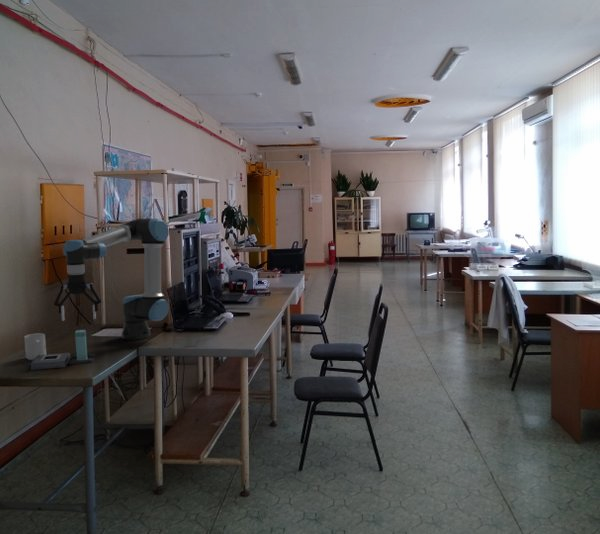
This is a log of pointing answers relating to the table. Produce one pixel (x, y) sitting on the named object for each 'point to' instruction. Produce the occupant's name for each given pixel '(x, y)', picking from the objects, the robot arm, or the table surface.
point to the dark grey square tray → (89, 360)
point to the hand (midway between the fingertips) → (79, 319)
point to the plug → (81, 344)
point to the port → (50, 361)
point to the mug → (35, 345)
